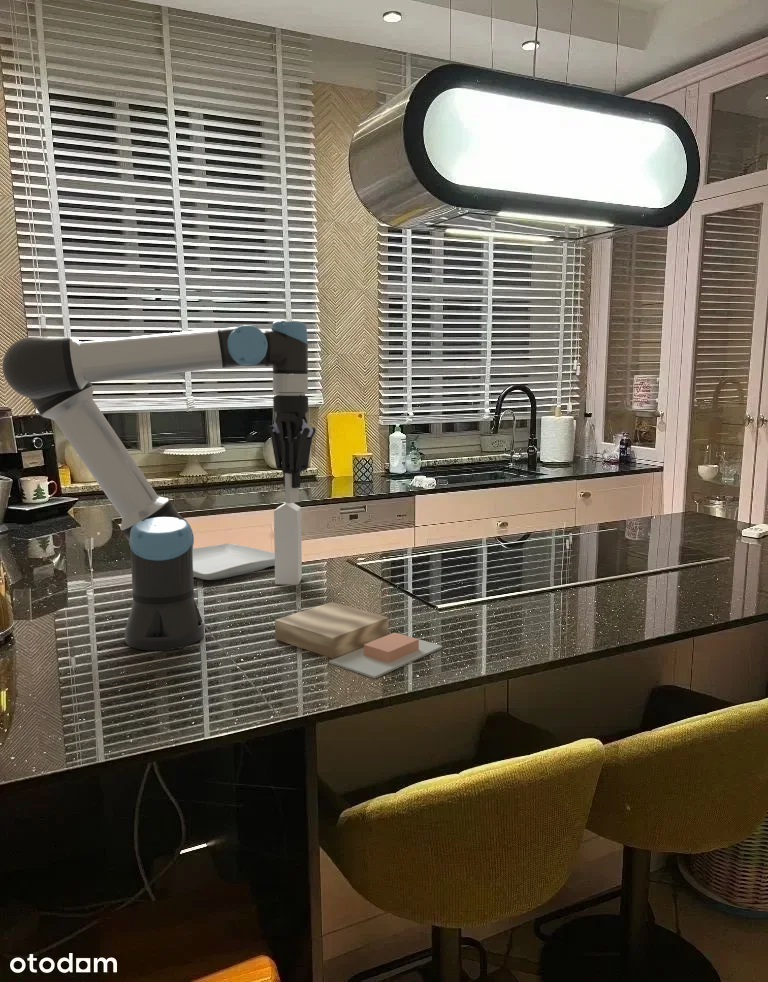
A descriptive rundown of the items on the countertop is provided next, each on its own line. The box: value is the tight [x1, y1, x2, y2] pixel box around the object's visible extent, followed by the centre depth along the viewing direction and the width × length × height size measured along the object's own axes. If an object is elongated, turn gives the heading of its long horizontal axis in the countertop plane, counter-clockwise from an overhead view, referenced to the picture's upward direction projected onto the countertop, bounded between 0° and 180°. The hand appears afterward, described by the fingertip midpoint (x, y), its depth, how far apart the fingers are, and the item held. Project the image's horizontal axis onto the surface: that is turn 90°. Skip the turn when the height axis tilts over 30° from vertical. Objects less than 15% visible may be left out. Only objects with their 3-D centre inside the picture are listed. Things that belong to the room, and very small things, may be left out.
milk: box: [273, 502, 303, 586], centre depth 191 cm, size 6×6×22 cm
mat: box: [328, 632, 443, 680], centre depth 141 cm, size 20×11×1 cm, turn 140°
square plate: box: [193, 542, 275, 581], centre depth 206 cm, size 27×27×4 cm
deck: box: [274, 601, 389, 660], centre depth 150 cm, size 16×16×4 cm
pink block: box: [364, 632, 420, 663], centre depth 142 cm, size 9×6×2 cm, turn 140°
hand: (292, 502), depth 166 cm, fingers closed
